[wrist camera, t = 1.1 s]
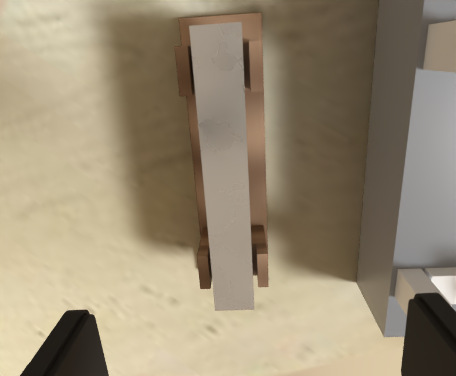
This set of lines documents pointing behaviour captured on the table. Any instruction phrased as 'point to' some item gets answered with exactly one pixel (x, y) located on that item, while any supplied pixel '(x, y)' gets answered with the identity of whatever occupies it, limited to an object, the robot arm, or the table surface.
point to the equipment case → (410, 162)
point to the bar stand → (254, 137)
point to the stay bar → (224, 159)
